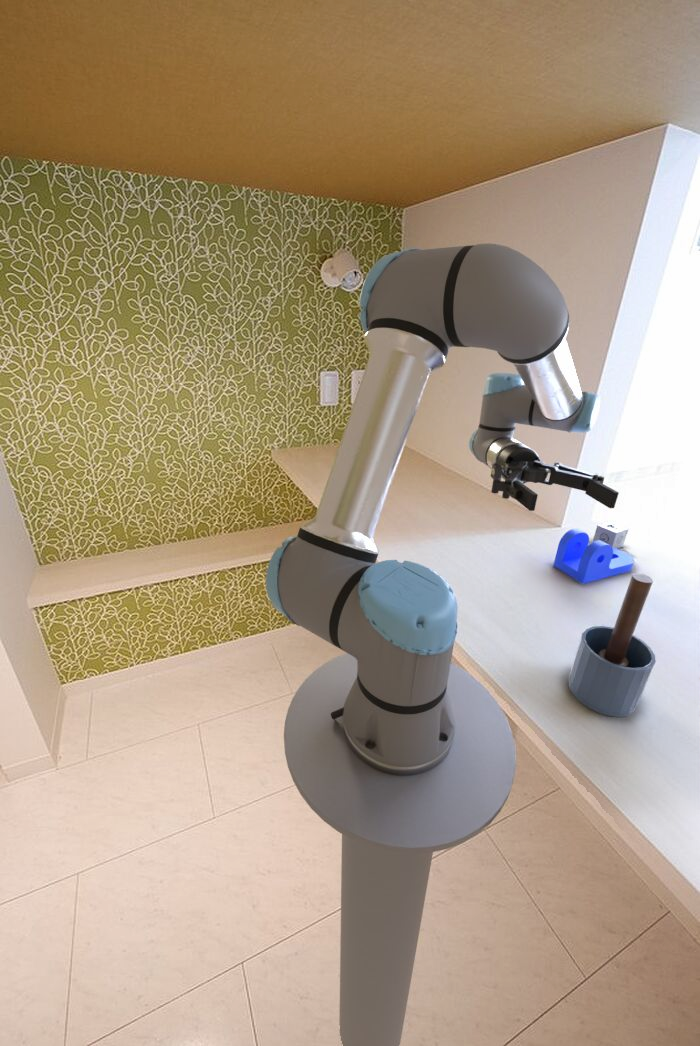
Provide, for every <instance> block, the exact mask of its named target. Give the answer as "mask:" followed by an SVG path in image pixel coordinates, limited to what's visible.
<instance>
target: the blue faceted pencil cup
mask: <svg viewBox="0 0 700 1046" xmlns="http://www.w3.org/2000/svg"><path fill="white" fill-rule="evenodd" d="M613 629H614V627H613V626H606V625H594V626H590V627H587V628H585V629H584V631H583V632H582V633H581V636H580V639H579V642H578V645H577V648H576V651H575V655H574V658H573V662H572V665H571V668H570V671H569V675H568V679H567V685H568V687H569V690H570V692H571V694H572V696H574V697H575V698H576V699H577V701H579V702H580V703H581V704H582V705H584V706H585V707H587V708H589V710H592V711H594V712H596V713H599V714H601V715H603V716H607V717H612V718H613V717H616V718H623V717H627V716H629V715H631V714H633V713H634V712H635V710H636V708H637V706H638V705H639V702H640V700H641V697H642V695H643V694H644V691H645V688H646V686H647V683H648V681H649V679H650V676H651V674H652V672H653V669H654V667H655V664H656V662H657V661H656V654H655V653H654V651H653V649H652V647H650V646H649V645H648V644H647V643H646V642H645V641H644V640H642V639H641V638H640V637H637V636H636V635H635V634H633V636H632V638H631V641H630V644H629V646H628V649H627V652H626V654H625V657H626V659H627V660H628V666H627V667H623V666H620V665H616V664H613V663H611V662H609V661H607V660H605V659H603V658H601V657H600V656H598V655H599V652H600V651H601V650H604V649H607V646H608V643H609V640H610V638H611V635H612V632H613Z"/></svg>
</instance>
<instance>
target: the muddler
mask: <svg viewBox="0 0 700 1046" xmlns="http://www.w3.org/2000/svg"><path fill="white" fill-rule="evenodd" d="M653 582H654V579H652V577H650V576H649V575H646V574H643V573H637V572H636V573H633V574H631V578H630V580H629V584H628V586H627V589H626V592H625V595H624V598H623V599H622V600H623V601H622V604H621V606H620V609H619V612H618V615H617V617H616V621H615V624H614V627H613V628H614V629H613V632H612V635H611V638H610V640H609V643H608V646H607V649H604V650H601V651H600V652H599V655H598V656H600V657H601V658H603V659H605V660H607V661H609V662H611V663H613V664H616V665H620V666H623V667H627V666H628V660H627V659H626V657H625V654H626V652H627V649H628V646H629V644H630V641H631V638H632V636H633V635H634V633H635V630H636V627H637V626H638V622H639V620H640V617H641V615H642V611H643V609H644V606H645V604H646V601H647V599H648V596H649V593H650V591H651V588H652V585H653Z"/></svg>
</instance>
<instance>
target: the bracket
mask: <svg viewBox="0 0 700 1046" xmlns="http://www.w3.org/2000/svg"><path fill="white" fill-rule="evenodd" d="M589 542H590V537H589V535H588V533H587V532H585V531H583V530H581V529H579V528H572V529H569V530H568V531H566V532H565V533H564V534H563V535H562V537H561V538H560V540H559V542H558V545H557V550H556V552H555V557H554V561H553V567H555V568H557V570H560V571H561V572H563V573H564V574H565V575H568V576H569V577H571V578H572V579H574V580H575V581H577V582H578V583H580V584H582V585H584V584H588V583H592V582H596V581H599V580H602V579H606V578H610V577H614V576H618V575H621V574H625V573H628V572H630V571H631V570H632V569H633V566H634V563H635V559H634V557H633V556H632V555H631V554H630V553H628V552H626V551H624V550H621V549H619V548H617V549H615V548H612V547H611V546H610V545H608V544H606V543H604V542H602V541H595V542H593V541H592V542H593V543H592V542H591V543H590V544H589Z"/></svg>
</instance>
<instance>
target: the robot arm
mask: <svg viewBox="0 0 700 1046" xmlns="http://www.w3.org/2000/svg"><path fill="white" fill-rule="evenodd" d="M358 303H359V304H358V305H359V307H360V308H361V311H360V312H359V320H360V324H361V327H362V330H363V332H364V333H365V334H364V339H363V340H364V344H365V346H366V347H367V351H368V352H369V357H368V360H367V363H366V366H365V369H364V372H363V374H362V377H361V381H360V383H359V387H358V389H357V393H356V394H355V395H356V396H355V398H354V402H353V404H352V407H351V409H350V413H349V416H348V419H347V422H346V425H345V428H344V430H343V433H342V435H341V440H340V443H339V444H338V448H337V451H336V454H335V456H334V460H333V463H332V466H331V469H330V471H329V475H328V478H327V481H326V484H325V487H324V489H323V491H322V495H321V498H320V502H319V504H318V507H317V510H316V513H315V516H314V517H312V518H311V519H309V520H307V521H306V522H302V523H301V524H300V526H299V528H298V532H297V535H293V536H290V537H288V538H286V539H285V540H284V541H282V542H281V546H278V547H276V548H275V550H274V552H273V554H272V555H271V556H270V557H271V558H270V560H269V561H268V564H267V565H268V566H267V569H266V576H265V588H266V593H267V594H266V595H267V597H268V599H269V601H270V603H271V606H272V607H273V608H274V609H275V610H276V611H277V612H278V613H280V614H281V615H282V616H284V617H285V618H287V620H288V621H289V622H291V624H294V625H296V626H299V627H301V628H303V629H305V630H307V631H308V632H310V633H311V634H314V635H315V636H317V637H318V638H320V639H322V640H324V641H326V642H328V643H329V644H331V645H333V646H334V647H336V648H338V649H339V650H341V651H342V652H345V653H348V654H350V655H352V656H353V657H355V658H356V659H357V661H358V666H357V677H356V680H355V682H354V684H353V686H352V688H351V690H350V692H349V694H348V696H347V698H346V701H345V704H344V707H343V708H341V709H339V710H336V711H334V712H332V713H331V717H332V719H333V720H334V719H336V718H338V717H341V716H343V731H344V735H345V738H346V741H347V743H348V745H349V746H350V748H351V749H352V751H353V752H354V753H355V754H356V756H357V757H358V758H360V759H361V760H362V761H363V762H364V763H366V764H367V765H369V766H370V767H372V768H374V769H376V770H379V771H381V772H384V773H387V774H392V775H399V776H409V775H417V774H420V773H424V772H426V771H429V770H431V769H433V768H434V767H436V766H437V765H438V764H440V763H441V762H442V761H443V760H444V759H445V757H446V756H447V755H448V753H449V751H450V749H451V746H452V743H453V738H454V731H455V721H454V714H453V711H452V707H451V702H450V699H449V696H448V692H447V682H448V677H449V670H450V664H451V662H452V658H453V651H454V646H455V641H456V637H457V634H458V600H457V597H456V596H455V595H454V589H452V587H451V585H450V584H449V583H448V582H447V581H446V580H445V578H444V577H442V576H441V575H440V574H438V573H437V572H436V571H434V570H433V569H431V568H429V567H427V566H425V565H422V564H420V563H418V562H414V561H410V560H403V562H400V561H398V560H397V559H387V560H382V561H378V562H377V560H378V556H379V554H380V549H379V547H378V546H377V544H376V542H375V539H374V538H375V537H374V535H375V532H376V529H377V527H378V524H379V522H380V521H379V520H380V518H381V515H382V512H383V509H384V506H385V503H386V500H387V497H388V494H389V492H390V489H391V486H392V483H393V480H394V478H395V475H396V471H397V468H398V465H399V463H400V459H401V457H402V454H403V451H404V448H405V445H406V442H407V440H408V437H409V433H410V431H411V427H412V425H413V422H414V420H415V416H416V413H417V410H418V407H419V405H420V402H421V399H422V396H423V393H424V390H425V387H426V384H427V381H428V378H429V375H431V374H432V373H434V372H436V371H439V370H440V369H442V368H443V367H444V365H445V362H446V360H447V357H448V354H449V351H450V349H451V348H453V347H454V348H455V347H457V348H478V349H486V350H491V351H495V352H497V354H498V355H499V356H500V357H501V358H502V359H503V361H505V362H508V363H509V364H513V366H514V367H515V370H516V372H517V374H516V373H508V372H495V373H491V374H489V375H488V376H487V377H486V379H485V380H486V381H485V385H484V388H483V389H484V390H483V394H482V401H481V408H480V415H479V424H478V427H477V429H476V430H475V431H474V432H473V433H472V435H471V436H470V437H469V442H468V447H469V451H470V452H471V454H472V455H473V456H474V457H475V459H476V460H477V461H479V462H480V463H483V464H484V465H486V466H487V467H488V468H489V469H491V470H490V477H491V479H492V484H491V490H490V493H492V494H499V492H502V495H501V498H502V499H507V500H508V499H510V497H511V498H512V499H514V500H516V501H517V502H518V503H520V505H522V506H523V507H524V508H526V509H527V510H528V511H530V512H534V511H535V510H536V506H537V501H538V494H537V492H535V491H533V490H532V489H531V488H529V487H528V486H527V485H525V484H526V483H533V484H537V483H538V484H543V485H546V486H547V485H548V486H552V485H554V484H555V485H557V486H562V487H565V488H566V487H567V488H571V489H574V490H579V491H583V492H585V493H584V494H585V495H587V496H588V497H590V498H592V499H593V500H595V501H596V502H599V503H600V504H602V505H604V506H605V507H607V508H608V509H615V506H616V503H617V500H618V496H619V493H620V492H619V491H617V490H616V489H613V488H611V487H609V486H607V484H604V480H605V478H606V477H604V476H603V475H600V474H599V473H594V472H593V473H592V472H590V471H585V470H582V469H579V468H576V467H572V466H568V465H566V464H564V463H562V462H558V461H557V462H554V463H553V464H548V463H545V462H544V461H541V459H540V456H539V454H538V453H537V452H536V451H535V450H534V449H532V448H530V447H529V446H527V445H525V444H524V443H522V442H520V441H518V440H517V439H514V434H515V430H516V425H517V424H518V425H524V426H525V425H526V426H531V427H537V428H544V429H549V430H555V431H563V432H567V433H578V434H587V433H588V432H590V431H591V430H592V428H593V427H594V425H595V422H596V420H597V417H598V413H599V410H600V405H601V398H600V396H599V394H597V393H594V392H593V393H592V392H588V391H582V390H581V387H580V383H579V379H578V376H577V373H576V368H575V366H574V362H573V358H572V355H571V351H570V347H569V344H568V340H567V335H568V332H569V329H570V314H569V310H568V306H567V303H566V299H565V297H564V295H563V293H562V291H561V290H560V289H559V286H558V285H557V283H555V281H554V280H553V279H552V277H550V275H549V274H548V273H547V272H546V271H545V270H544V269H543V268H542V267H541V266H540V265H539V264H537V263H536V262H535V261H533V260H532V259H531V258H530V257H528V256H526V255H525V254H523V253H522V252H520V251H518V250H516V249H513V248H511V247H509V246H506V245H502V244H497V243H489V242H488V243H476V244H472V245H458V246H449V247H439V248H428V249H427V248H426V249H422V248H412V247H411V248H406V249H403V250H401V251H396V252H391V253H389V254H386V255H384V256H382V257H381V258H380V259H378V260H377V261H376V262H375V263H374V264H373V266H372V267H371V268H370V270H369V271H368V273H367V275H366V276H365V279H364V281H363V283H362V286H361V291H360V297H359V302H358ZM548 476H549V479H547V478H548ZM502 479H503V480H504V481H503V480H502Z"/></svg>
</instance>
